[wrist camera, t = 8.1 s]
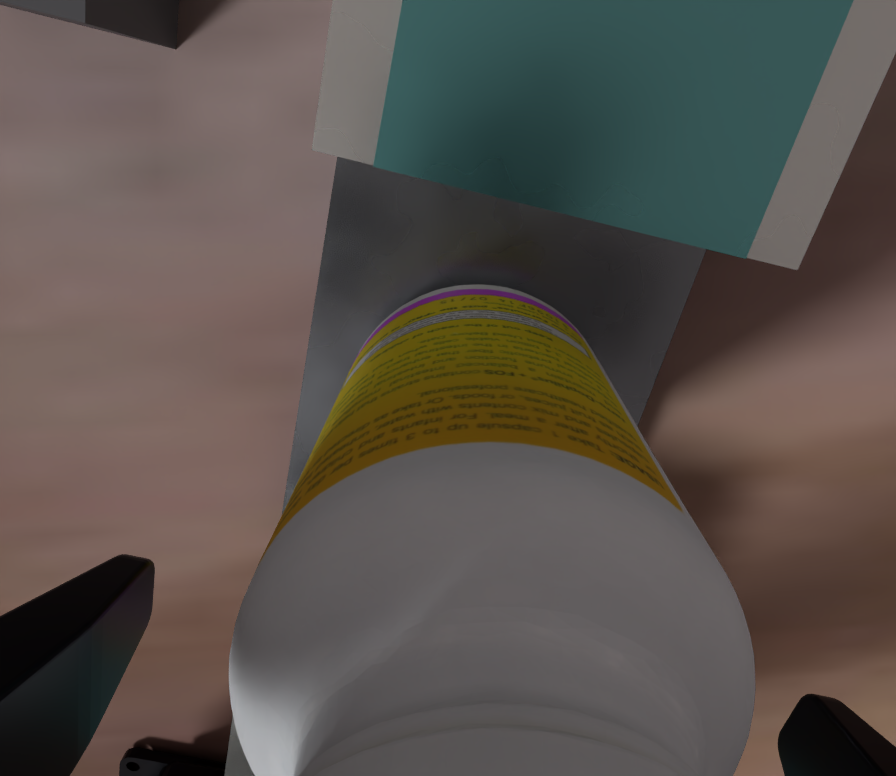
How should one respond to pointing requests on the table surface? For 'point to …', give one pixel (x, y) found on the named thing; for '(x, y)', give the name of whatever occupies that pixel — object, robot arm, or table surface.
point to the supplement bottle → (487, 573)
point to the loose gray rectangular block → (113, 16)
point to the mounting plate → (573, 162)
